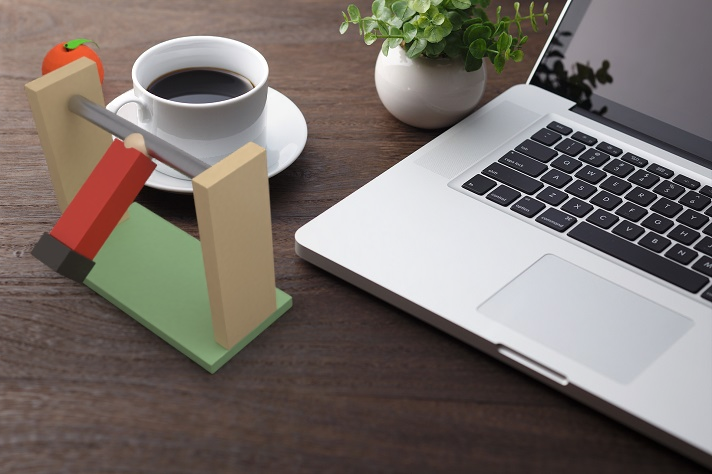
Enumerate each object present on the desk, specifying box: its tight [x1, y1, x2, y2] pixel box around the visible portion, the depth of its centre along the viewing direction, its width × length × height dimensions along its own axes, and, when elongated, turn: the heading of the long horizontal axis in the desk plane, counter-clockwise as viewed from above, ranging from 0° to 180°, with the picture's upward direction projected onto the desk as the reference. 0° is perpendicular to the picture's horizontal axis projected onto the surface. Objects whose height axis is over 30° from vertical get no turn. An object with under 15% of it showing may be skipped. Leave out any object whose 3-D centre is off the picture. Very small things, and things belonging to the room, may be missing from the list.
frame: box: [23, 57, 293, 375], centre depth 69 cm, size 21×10×18 cm, turn 52°
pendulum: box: [29, 94, 213, 285], centre depth 64 cm, size 17×3×13 cm
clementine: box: [40, 38, 105, 87], centre depth 96 cm, size 8×7×7 cm
